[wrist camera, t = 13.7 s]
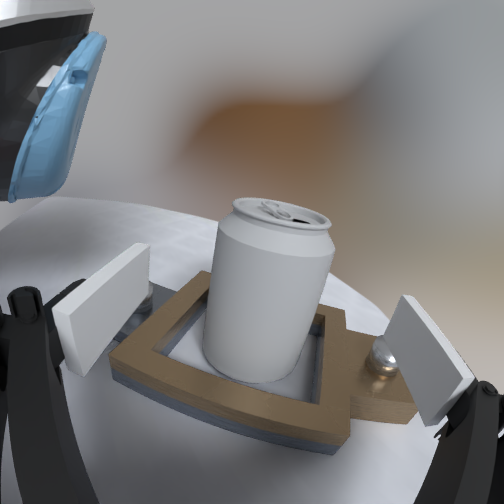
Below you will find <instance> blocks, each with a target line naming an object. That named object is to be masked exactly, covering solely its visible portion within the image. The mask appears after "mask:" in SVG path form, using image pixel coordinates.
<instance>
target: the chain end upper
mask: <svg viewBox="0 0 504 504" xmlns="http://www.w3.org/2000/svg"><path fill="white" fill-rule="evenodd" d="M210 279H211V273H209V272H205V271H201V272H199V273H198V274H197V275H196V276H195V277H194V278H193V279H191V280H190V281H189V282H188V283H187V284H186V285H185V286H184V287H182V288H181V289H180V290H179V291H178V292H177V293H176V294H175V295H173V296H172V297H171V298H170V299H169V300H168V301H167V302H166V303H164V304H163V305H162V306H161V307H160V308H159V309H158V310H157V311H155V312H154V313H153V314H152V315H151V316H150V317H149V318H148V319H147V320H145V321H144V322H143V323H142V324H141V325H140V326H139V327H138V328H137V329H135V330H134V331H133V332H132V333H131V334H130V335H129V336H128V337H127V338H126V339H124V340H123V341H122V342H121V343H120V344H119V345H118V346H117V347H116V348H115V349H114V350H112V351H111V352H110V353H109V354H108V355H109V360H110V366H111V368H113V369H115V370H117V371H118V372H120V373H122V374H124V375H126V376H128V377H130V378H132V379H133V380H135V381H137V382H139V383H141V384H143V385H145V386H147V387H150V388H152V389H154V390H156V391H158V392H160V393H162V394H165V395H167V396H169V397H171V398H174V399H176V400H178V401H181V402H183V403H185V404H188V405H190V406H193V407H195V408H198V409H201V410H203V411H206V412H209V413H211V414H214V415H217V416H220V417H223V418H226V419H229V420H232V421H235V422H238V423H241V424H244V425H248V426H251V427H254V428H258V429H261V430H265V431H269V432H273V433H277V434H281V435H285V436H289V437H294V438H298V439H303V440H308V441H314V442H319V443H325V444H331V445H338V446H342V445H343V444H344V442H345V441H346V440H347V439H348V438H349V436H350V418H354V419H361V420H368V421H376V422H385V423H395V424H408V422H409V421H410V420H411V419H412V418H413V417H414V415H415V414H416V413H417V412H418V409H417V406H416V404H415V402H414V400H413V397H412V395H411V393H410V391H409V389H408V387H407V384H406V382H405V380H404V378H403V376H402V374H401V372H400V370H399V368H398V366H397V364H396V361H395V359H394V357H393V355H392V353H391V351H390V349H389V348H388V346H387V344H386V342H385V340H384V338H383V335H381V336H378V337H377V336H373V335H368V334H364V333H360V332H355V331H351V330H347V329H346V319H345V310H342V309H338V308H334V307H330V306H326V305H322V304H318V306H317V309H316V312H315V315H314V318H313V321H312V324H316V325H319V326H321V341H320V355H319V366H318V377H317V387H316V396H315V404H312V403H308V402H303V401H299V400H295V399H291V398H287V397H283V396H279V395H275V394H272V393H268V392H264V391H261V390H258V389H254V388H251V387H248V386H244V385H241V384H238V383H235V382H232V381H229V380H226V379H223V378H220V377H217V376H214V375H212V374H209V373H206V372H203V371H201V370H198V369H195V368H193V367H190V366H188V365H185V364H183V363H180V362H178V361H175V360H173V359H171V358H168V357H166V356H163V355H161V354H159V353H160V352H161V351H162V350H163V348H164V347H165V346H166V345H167V344H168V343H169V342H170V340H171V339H172V338H173V337H174V336H175V335H176V334H177V332H178V331H179V330H180V329H181V328H182V327H183V326H184V324H185V323H186V322H187V321H188V320H189V319H190V318H191V316H192V315H193V314H194V313H195V312H196V311H197V310H198V308H199V307H200V306H201V305H202V304H203V303H204V302H205V300H206V299H207V298H208V294H209V287H210Z"/></svg>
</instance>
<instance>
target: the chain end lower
mask: <svg viewBox="0 0 504 504" xmlns="http://www.w3.org/2000/svg"><path fill="white" fill-rule="evenodd" d="M176 293H177V292H176V291H174V290H171V289H168V288H165V287H162V286H160V285H157V284H154V283H151V282H150V281H149V292H148V295H147V296H146V297H145V298H144V300H143V301H142V302H141V303H140V305H139V306H138V307H137V308H136V310H135V311H134V312H133V313H132V315H131V316H130V317H129V318H128V320H127V321H126V322H125V324H124V325H123V326H122V327H121V329H120V330H119V331H118V333H117V334H116V335H115V336H114V338H113V339H115V340H117V341H119V342H122V341H123V340H124V339H126V338H127V337H128V336H129V335H130V334H131V333H132V332H133V331H134V330H135V329H137V328H138V327H139V326H140V325H141V324H142V323H143V322H144V321H145V320H147V319H148V318H149V317H150V316H151V315H152V314H153V313H154V312H155V311H157V310H158V309H159V308H160V307H161V306H162V305H163V304H164V303H166V302H167V301H168V300H169V299H170V298H171V297H172V296H173V295H175V294H176ZM207 302H208V298H207V299H206V300H205V302H204V303H203V304H202V305H201V306H200V307H199V308H198V310H197V311H196V312H195V313H194V314H193V315H192V316H191V318H190V319H189V320H188V321H187V322H186V323H185V324H184V326H183V327H182V328H181V329H180V330H179V331H178V332H177V334H176V335H175V336H174V337H173V338H172V339H171V340H170V342H169V343H168V344H167V345H166V346H165V347H164V348H163V350H162V351H161V352H160V353H159V354H161V355H163V356H166V357H167V355H168V354H169V353H170V352H171V351H172V349H173V348H174V347H175V346H176V345H177V343H178V342H179V341H180V340H181V338H182V337H183V336H184V335H185V334H186V332H187V331H188V330H189V329H190V328H191V326H192V325H193V324H194V323H195V322H196V320H197V319H198V318H199V317H200V316H201V314H202V313H203V312H204V311H205V309H206V308H207ZM308 334H312V335H316V336H318V338H317V349H316V359H315V369H314V378H313V386H312V394H311V402H310V403H312V404H315V396H316V387H317V377H318V366H319V355H320V341H321V326H319V325H316V324H311V327H310V329H309V332H308ZM111 371H112V376H113V379H114V380H116V381H118V382H119V383H121V384H123V385H125V386H127V387H128V388H130V389H132V390H134V391H136V392H138V393H140V394H142V395H144V396H146V397H148V398H150V399H152V400H154V401H156V402H158V403H161V404H163V405H165V406H167V407H169V408H172V409H174V410H176V411H179V412H181V413H183V414H186V415H188V416H191V417H193V418H196V419H198V420H201V421H203V422H206V423H209V424H212V425H214V426H217V427H220V428H223V429H226V430H229V431H232V432H235V433H238V434H242V435H245V436H248V437H252V438H255V439H259V440H263V441H266V442H270V443H274V444H278V445H283V446H287V447H292V448H296V449H301V450H306V451H312V452H318V453H324V454H330V455H334V454H335V453H336V452H337V451H338V449H339V448H340V447H341V446H338V445H331V444H325V443H319V442H314V441H308V440H303V439H298V438H294V437H289V436H285V435H281V434H277V433H273V432H269V431H265V430H261V429H258V428H254V427H251V426H248V425H244V424H241V423H238V422H235V421H232V420H229V419H226V418H223V417H220V416H217V415H214V414H211V413H209V412H206V411H203V410H201V409H198V408H195V407H193V406H190V405H188V404H185V403H183V402H181V401H178V400H176V399H174V398H171V397H169V396H167V395H165V394H162V393H160V392H158V391H156V390H154V389H152V388H150V387H147V386H145V385H143V384H141V383H139V382H137V381H135V380H133V379H132V378H130V377H128V376H126V375H124V374H122V373H120V372H118V371H117V370H115V369H113V368H111Z"/></svg>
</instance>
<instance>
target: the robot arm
mask: <svg viewBox="0 0 504 504" xmlns="http://www.w3.org/2000/svg"><path fill="white" fill-rule="evenodd" d="M94 9H95V8H94V6H93V5H92V3H91V2H90V1H89V0H0V201H8V202H9V203H13V202H15V201H16V200H17V199H25V198H35V197H46V196H49V195H52V194H54V193H55V192H56V191H57V190H59V189H60V188H61V187H62V185H63V184H64V182H65V181H66V178H67V176H68V173H69V170H70V167H71V163H72V159H73V155H74V151H75V148H76V144H77V139H78V136H79V132H80V128H81V125H82V121H83V118H84V113H85V111H86V107H87V104H88V100H89V97H90V94H91V91H92V87H93V84H94V81H95V78H96V75H97V72H98V69H99V66H100V63H101V58H102V55H103V52H104V50H105V47H106V42H107V40H106V37H105V36H103V35H100V34H99V33H98V32H90V33H89V32H88V29H89V25H90V21H91V18H92V15H93V12H94ZM149 257H150V245H147V244H143V243H138V242H136V243H135V244H133V245H132V246H131V247H129V248H128V249H126V250H125V251H124V252H122V253H121V254H120V255H118V256H117V257H116V258H114V259H113V260H112V261H110V262H109V263H108V264H106V265H105V266H104V267H102V268H101V269H100V270H98V271H97V272H96V273H95V274H93V275H92V276H91V277H89V278H88V279H87V280H86V279H81V280H78V281H75V282H73V283H72V284H70V285H69V286H68V287H66V288H65V289H64V290H63V291H61V292H60V294H57V295H56V296H55V297H54V298H53V299H51V300H50V301H49V302H48V303H46V304H45V305H44V306H43V303H42V298H41V294H40V291H39V290H38V289H37V288H35V287H31V286H24V287H19V288H17V289H15V290H13V291H12V292H11V293H9V295H8V297H7V300H8V304H9V308H10V311H11V315H7V314H3V313H2V310H1V306H0V504H1V461H2V449H3V440H4V432H5V426H6V420H7V414H8V421H9V433H10V442H11V449H12V456H13V462H14V467H15V472H16V477H17V482H18V486H19V490H20V494H21V497H22V501H23V504H100V503H99V501H98V499H97V497H96V494H95V492H94V490H93V487H92V485H91V482H90V480H89V477H88V474H87V472H86V469H85V466H84V463H83V460H82V457H81V454H80V451H79V448H78V445H77V441H76V438H75V434H74V431H73V427H72V423H71V419H70V415H69V410H68V406H67V401H66V396H65V391H64V385H63V379H62V373H61V369H60V366H59V364H60V363H61V362H62V361H63V360H64V359H65V362H66V365H67V368H68V370H70V371H72V372H74V373H76V374H78V375H80V376H82V377H85V375H86V374H87V373H88V371H89V370H90V368H91V367H92V366H93V364H94V363H95V362H96V360H97V359H98V358H99V356H100V355H101V354H102V352H103V351H104V350H105V348H106V347H107V346H108V344H109V343H110V342H111V340H112V339H113V338H114V336H115V335H116V334H117V333H118V331H119V330H120V329H121V327H122V326H123V325H124V324H125V322H126V321H127V320H128V318H129V317H130V316H131V315H132V313H133V312H134V311H135V310H136V308H137V307H138V306H139V305H140V303H141V302H142V301H143V300H144V298H145V297H146V296H147V295H148V292H149ZM383 338H384V340H385V342H386V344H387V346H388V348H389V349H390V351H391V353H392V355H393V357H394V359H395V361H396V364H397V366H398V368H399V370H400V372H401V374H402V376H403V378H404V380H405V382H406V384H407V387H408V389H409V391H410V393H411V395H412V397H413V400H414V402H415V404H416V406H417V409H418V411H419V413H420V416H421V418H422V420H423V423H424V425H425V427H426V426H432V425H438V424H439V422H440V421H441V420H442V419H443V418H444V417H445V416H447V418H448V421H447V422H446V423H445V425H444V426H443V427H442V428H441V429H440V430H439V431H438V432H437V433H436V434H435V436H434V438H436V437H437V436H438V435H440V434H441V437H440V438H439V439H438V440H439V443H438V446H437V449H436V452H435V454H434V457H433V460H432V463H431V465H430V468H429V470H428V473H427V475H426V478H425V480H424V482H423V484H422V487H421V489H420V491H419V493H418V495H417V497H416V499H415V502H414V504H504V434H503V435H502V436H501V437H500V438H499V437H498V434H499V433H500V432H501V431H502V429H503V428H504V395H500V394H498V391H497V390H496V388H495V387H494V386H493V385H492V384H490V383H489V382H487V381H480V382H478V380H477V379H476V377H475V376H474V374H473V373H472V371H471V370H470V369H469V367H468V366H467V364H465V361H464V360H463V359H462V358H461V356H460V355H459V353H458V352H457V351H456V350H455V349H454V347H453V346H452V345H451V343H450V342H449V340H448V339H447V338H446V337H445V335H444V334H443V333H442V331H441V330H440V329H439V328H438V326H437V325H436V324H435V323H434V321H433V320H432V319H431V318H430V317H429V315H428V314H427V313H426V312H425V310H424V309H423V308H422V307H421V305H420V304H419V303H418V302H417V301H416V299H415V298H414V297H413V296H408V295H402V296H401V298H400V300H399V303H398V305H397V307H396V310H395V312H394V314H393V316H392V318H391V320H390V323H389V325H388V327H387V329H386V331H385V333H384V335H383Z"/></svg>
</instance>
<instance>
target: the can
mask: <svg viewBox="0 0 504 504" xmlns="http://www.w3.org/2000/svg"><path fill="white" fill-rule="evenodd" d="M232 205H233V207H234V209H233V212H231V213H230V214H229V215H227V216H226V217H225V218H223V219H222V220H221V221H220V222H219V223H218V230H217V237H216V243H215V250H214V257H213V264H212V272H211V279H210V287H209V294H208V302H207V310H206V319H205V327H204V336H203V351H204V353H205V356H206V358H207V360H208V361H209V362H210V363H211V364H212V365H213V366H214V367H215V368H216V369H217V370H218V371H220V372H221V373H223V374H225V375H227V376H229V377H231V378H232V379H235V380H238V381H242V382H246V383H269V382H273V381H277V380H280V379H282V378H284V377H285V376H287V375H288V374H290V373H291V372H292V370H293V369H294V367H295V366H296V364H297V362H298V359H299V356H300V354H301V351H302V348H303V346H304V343H305V340H306V338H307V335H308V332H309V329H310V327H311V324H312V321H313V318H314V315H315V312H316V309H317V306H318V304H319V301H320V298H321V294H322V291H323V288H324V285H325V282H326V279H327V276H328V272H329V269H330V266H331V263H332V259H333V256H334V252H335V247H334V244H333V242H332V240H331V238H330V236H329V234H328V232H327V231H328V228H329V227H331V225H332V224H331V222H330V220H329V219H328V218H326V217H325V216H323V215H321V214H319V213H317V212H315V211H312V210H309V209H307V208H304V207H300V206H297V205H293V204H289V203H285V202H280V201H275V200H269V199H260V198H238V199H236V200H234V201H233V202H232Z"/></svg>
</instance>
